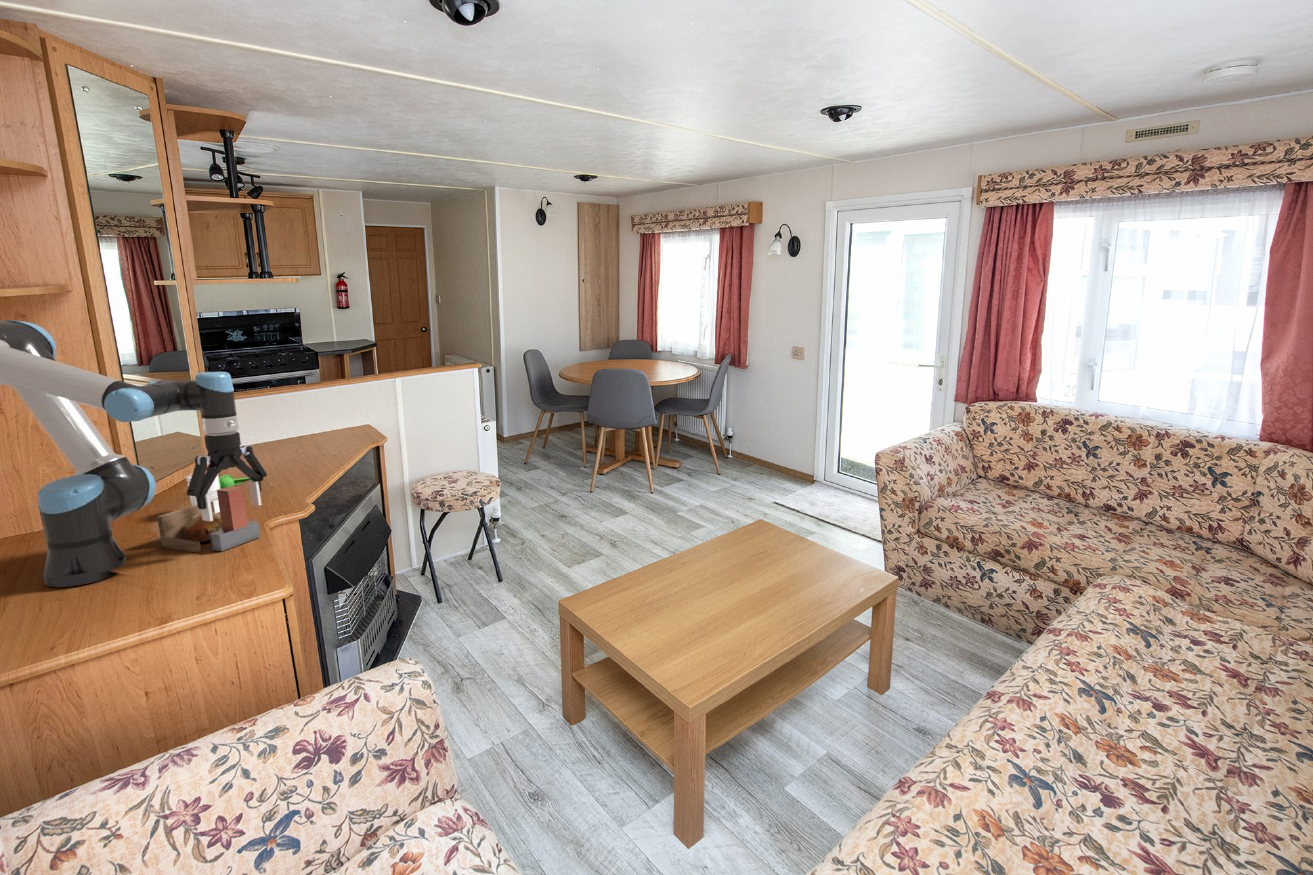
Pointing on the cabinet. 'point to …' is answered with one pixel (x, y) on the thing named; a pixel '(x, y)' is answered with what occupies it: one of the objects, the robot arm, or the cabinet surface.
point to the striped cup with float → (211, 492)
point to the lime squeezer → (230, 481)
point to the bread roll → (201, 528)
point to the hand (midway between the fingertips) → (233, 512)
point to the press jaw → (233, 521)
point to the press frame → (178, 528)
